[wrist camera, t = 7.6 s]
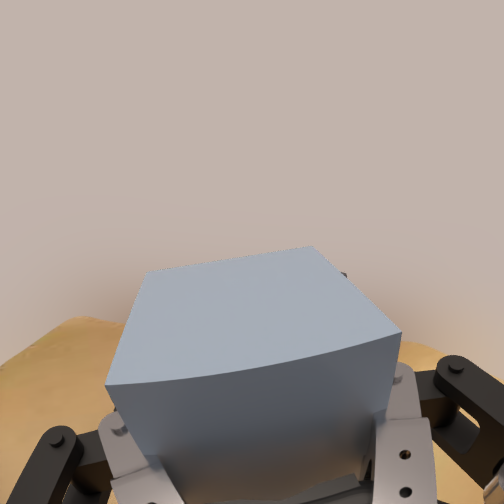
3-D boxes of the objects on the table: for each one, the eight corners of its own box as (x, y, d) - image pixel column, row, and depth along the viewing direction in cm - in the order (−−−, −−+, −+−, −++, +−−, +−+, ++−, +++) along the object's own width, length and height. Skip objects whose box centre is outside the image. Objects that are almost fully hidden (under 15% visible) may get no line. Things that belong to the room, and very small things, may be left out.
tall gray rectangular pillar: (353, 514, 9) (401, 331, 6) (209, 543, 8) (104, 385, 5) (314, 423, 14) (312, 245, 11) (201, 444, 14) (147, 271, 10)
